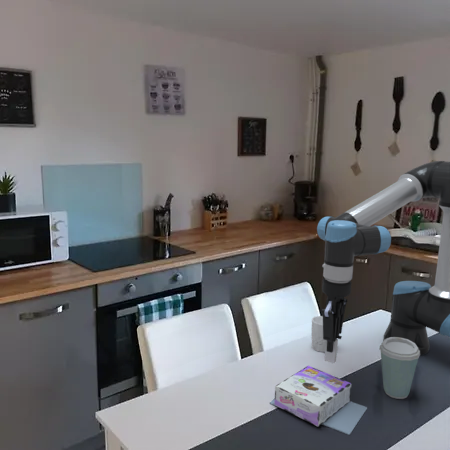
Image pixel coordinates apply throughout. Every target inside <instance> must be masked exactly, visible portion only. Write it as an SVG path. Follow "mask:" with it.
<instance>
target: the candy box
mask: <svg viewBox="0 0 450 450" xmlns="http://www.w3.org/2000/svg"><path fill="white" fill-rule="evenodd" d="M351 391H352V383H351V382H349V381H346V380H345V379H342V378H339V377H337V376H335V375H333V374H330V373H327V372H325V371H323V370H320V369H318V368H315V367H313V366H310V365H306V366H305V367H304V368H302V369H300V370H299V371H297V372H296V373H294V374H293V375H291V376H289V377H288V378H286V379H284V380H283V381H281V382H279V383H278V384H276V385H275V386H274V398H275V402H274V405H276V406H278V407H277V408H279V407H280V408H279V409H281V408H282V410H283V411H286V412H288V413H290V414H292V415H293V416H296V417H297V418H300V419H302V420H304V421H306V422H308V423H310V424H312V425H314V426H316V427H320V426H322V423H323V422H325V421H326V420H327V419H328V418H330V417H331V416H332V415H333V414H335V413H336V412H337V411H339V410H340V409H341V408H342V407H344V406H345V405H346V404H347V403H349V401H351ZM274 405H273V406H274ZM276 406H275V407H276Z"/></svg>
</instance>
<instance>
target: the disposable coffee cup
mask: <svg viewBox="0 0 450 450" xmlns="http://www.w3.org/2000/svg"><path fill="white" fill-rule="evenodd" d="M379 350H380V361H381V374H382V383H383V390H384V393H385V394H386V395H387V396H389V397H390V398H392V399H397V400H404V399H407V398H408V396H409V395H410V391H411V388H412V384H413V381H414V376H415V373H416V370H417V364H418V361H419V358H420V356H421V355H420V351H419V349H418V347H417V345H416V344H415V343H414V342H412V341H410V340H408V339H404V338H399V337H390V338H387V339H384V341H383V340H382V343H381V344H380V345H379Z"/></svg>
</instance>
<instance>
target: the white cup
mask: <svg viewBox="0 0 450 450" xmlns="http://www.w3.org/2000/svg"><path fill="white" fill-rule="evenodd" d="M311 348H312V350H314V351H317V352H320V353H325V351H326V340H324V339H323V316H322V315H317V316H314V317H312V318H311Z"/></svg>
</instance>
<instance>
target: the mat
mask: <svg viewBox="0 0 450 450" xmlns="http://www.w3.org/2000/svg"><path fill="white" fill-rule="evenodd" d="M274 402H275V397H274V398H272V400H271V401H270V402H269V404H270V405H272V406H274V407H276V408H279V409H282V408H280V407H278V406H276V405H274ZM282 410H283V409H282ZM367 410H368V407H367V406H364V405H362V404H359V403H357V402H353V401H351V400H350V401H349V403H347V404H346V405H345V406H344V407H342V408H341V409H340V410H339V411H337V412H336V413H335V414H333V415H332V416H331V417H330V418H328V419H327V420H326V421H325V422H323V423H322V424H321V426H324V427H325V426H326V427H327V428H329V429H332V430H334V431H337V432H339V433H343V434H345V435H346V436H350V435H351V434H352V433H353V431H354V429H355V428H356V426H357V424H359V422H360V420H361V419H362V418H363V415H364V414H365V413H366V411H367Z"/></svg>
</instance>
